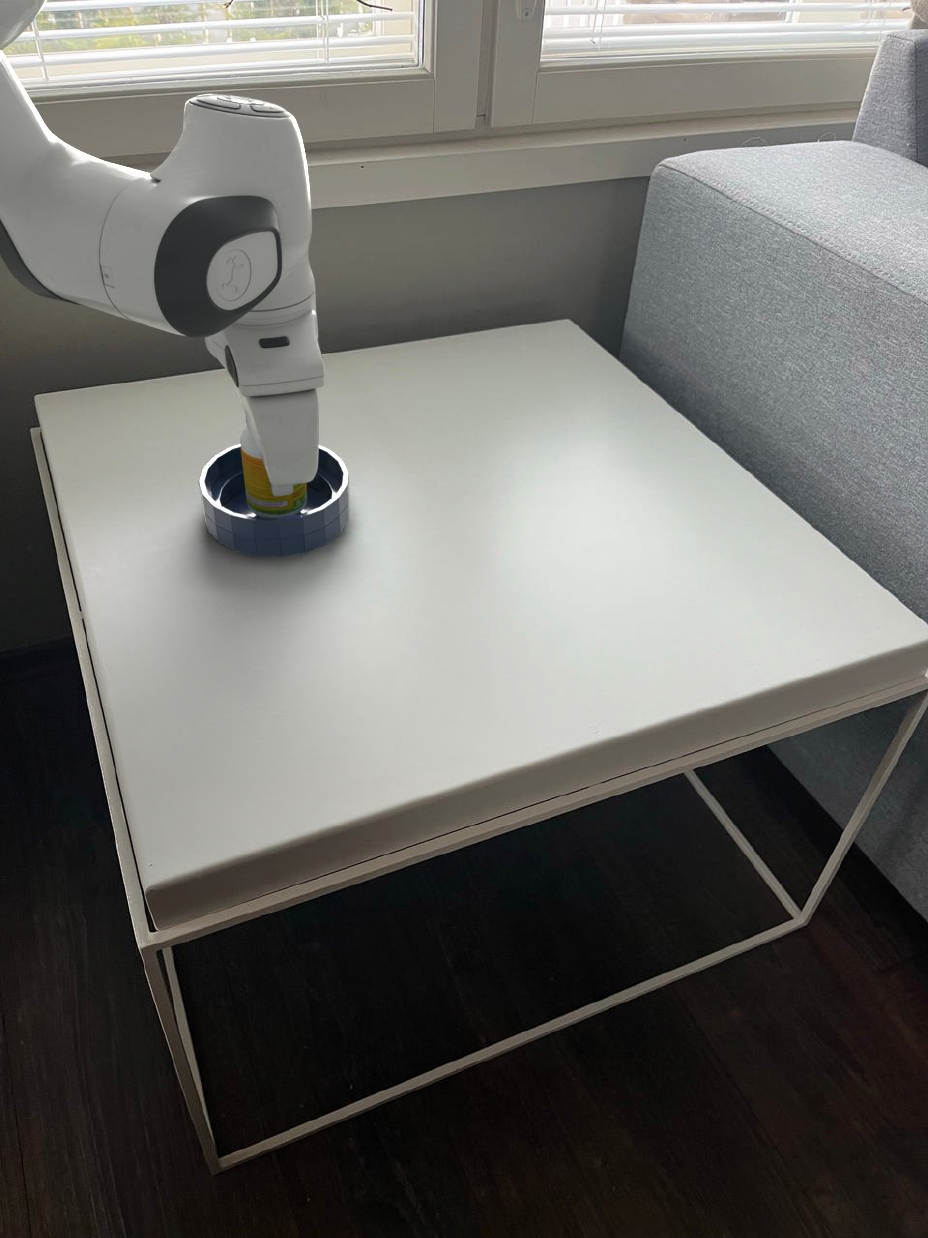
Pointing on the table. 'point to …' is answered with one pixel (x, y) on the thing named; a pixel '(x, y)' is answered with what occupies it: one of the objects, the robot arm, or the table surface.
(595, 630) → the table surface
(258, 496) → the supplement bottle
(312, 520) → the blue bowl
